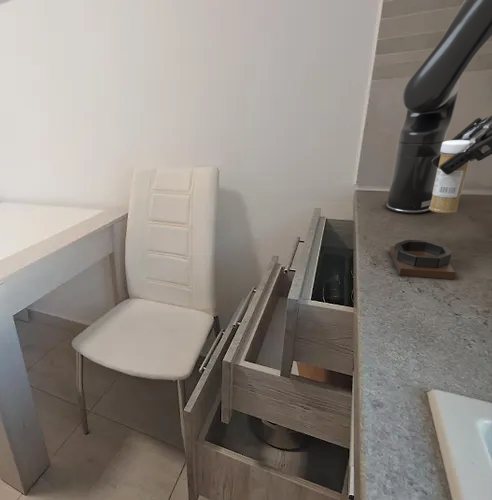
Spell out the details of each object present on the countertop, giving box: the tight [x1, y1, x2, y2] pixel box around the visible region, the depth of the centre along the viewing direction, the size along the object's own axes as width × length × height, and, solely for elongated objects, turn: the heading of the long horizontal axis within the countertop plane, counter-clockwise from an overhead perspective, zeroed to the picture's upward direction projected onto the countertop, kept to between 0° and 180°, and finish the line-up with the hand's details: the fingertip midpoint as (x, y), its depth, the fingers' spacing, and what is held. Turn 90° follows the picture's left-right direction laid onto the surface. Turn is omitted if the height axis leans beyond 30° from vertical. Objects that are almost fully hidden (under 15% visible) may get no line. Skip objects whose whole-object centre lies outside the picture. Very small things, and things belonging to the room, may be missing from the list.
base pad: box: [389, 239, 456, 280], centre depth 69 cm, size 10×8×4 cm
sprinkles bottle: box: [429, 139, 470, 214], centre depth 70 cm, size 5×5×13 cm
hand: (439, 167), depth 71 cm, fingers closed on sprinkles bottle, 4 cm apart
